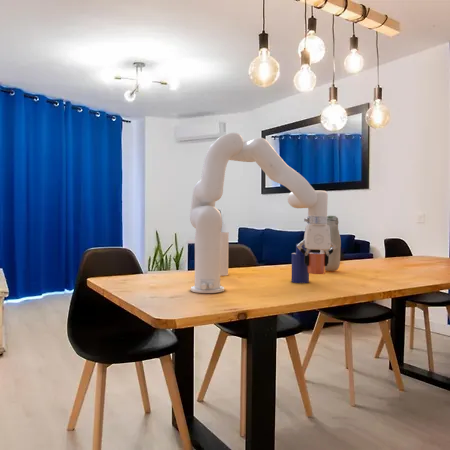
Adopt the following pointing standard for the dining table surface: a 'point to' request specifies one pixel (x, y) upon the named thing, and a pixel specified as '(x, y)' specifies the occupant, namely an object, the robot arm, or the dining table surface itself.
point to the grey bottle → (335, 239)
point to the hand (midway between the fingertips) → (316, 265)
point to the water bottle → (299, 267)
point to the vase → (224, 253)
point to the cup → (316, 263)
